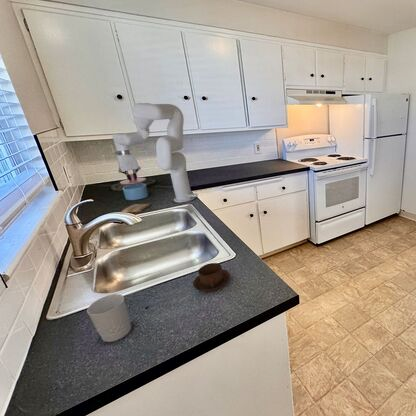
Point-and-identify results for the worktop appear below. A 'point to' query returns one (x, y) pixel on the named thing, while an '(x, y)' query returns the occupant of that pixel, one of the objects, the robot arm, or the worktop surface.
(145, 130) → the robot arm
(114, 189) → the decorative plate
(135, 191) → the bowl
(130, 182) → the plate lid
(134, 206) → the trivet
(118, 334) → the white cup
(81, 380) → the worktop surface
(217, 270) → the cup and saucer
